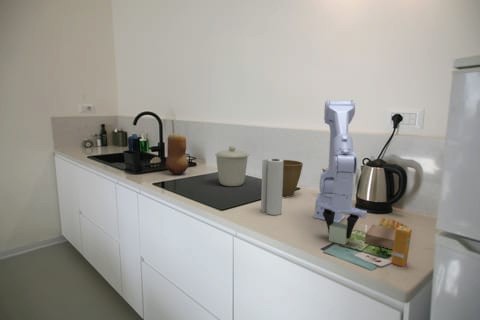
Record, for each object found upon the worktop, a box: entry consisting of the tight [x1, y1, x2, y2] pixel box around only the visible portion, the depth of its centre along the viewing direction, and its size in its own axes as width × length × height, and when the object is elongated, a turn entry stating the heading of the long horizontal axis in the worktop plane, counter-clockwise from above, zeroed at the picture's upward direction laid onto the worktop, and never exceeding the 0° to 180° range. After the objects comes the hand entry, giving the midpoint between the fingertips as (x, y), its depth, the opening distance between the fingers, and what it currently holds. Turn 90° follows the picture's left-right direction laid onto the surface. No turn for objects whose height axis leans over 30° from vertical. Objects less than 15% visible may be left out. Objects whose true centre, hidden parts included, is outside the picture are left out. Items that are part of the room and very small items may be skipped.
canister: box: [214, 145, 250, 187], centre depth 169 cm, size 18×18×21 cm
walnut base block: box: [364, 224, 396, 251], centre depth 99 cm, size 10×10×3 cm
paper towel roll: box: [260, 158, 284, 216], centre depth 123 cm, size 7×6×21 cm
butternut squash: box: [165, 133, 189, 176], centre depth 193 cm, size 14×13×25 cm
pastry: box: [378, 217, 409, 229], centre depth 108 cm, size 9×7×4 cm
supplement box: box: [390, 226, 412, 268], centre depth 84 cm, size 3×3×10 cm
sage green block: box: [328, 221, 351, 246], centre depth 99 cm, size 5×5×5 cm
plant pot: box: [282, 159, 304, 197], centre depth 150 cm, size 15×15×16 cm
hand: (339, 235), depth 99 cm, fingers closed on sage green block, 5 cm apart
